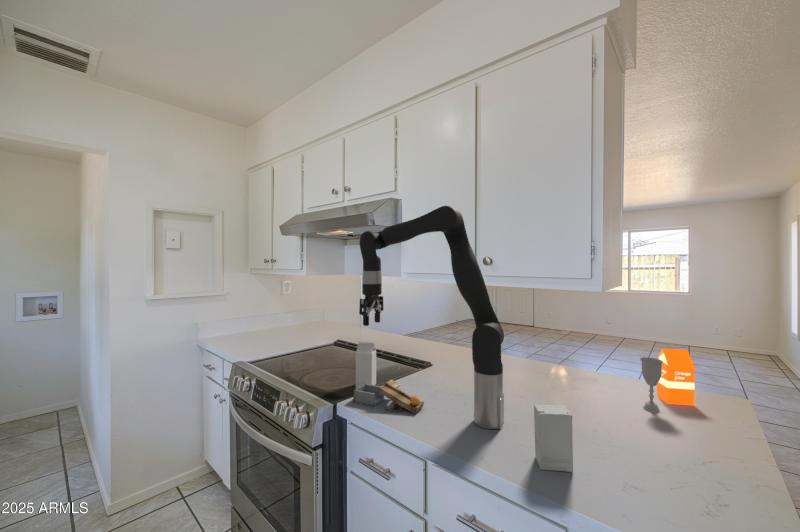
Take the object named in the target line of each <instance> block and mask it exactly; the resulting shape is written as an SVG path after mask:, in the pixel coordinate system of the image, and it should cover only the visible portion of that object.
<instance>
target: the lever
mask: <svg viewBox="0 0 800 532" xmlns="http://www.w3.org/2000/svg"><path fill="white" fill-rule="evenodd" d="M400 386H401V383H399V382H397V381H396V380H394V379H390V380H388V381H387V382H386V381H385V383H384V384H383V385H381V387H378V390H377V392H379V393H380V394H382V395H384V398H387V399H389V400H390V401H391V402H393V401H394V402H395V403H397V404H399V405H400V406H402V407H403V409H405V410H407V411H409V412H410V413H413V414H417V413H418V412H419V411H420V410H421V409H422V408H423V407H424V404H425V401H423V400H421V401H420V403H419V405H418V406H413V405H412V404H411V402H410V400H411V398H412V397H413V396H411V395H409V394H408V393H406V392H404V391H402V390H401V389H399V388H400Z"/></svg>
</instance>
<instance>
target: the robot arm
mask: <svg viewBox="0 0 800 532" xmlns="http://www.w3.org/2000/svg"><path fill="white" fill-rule="evenodd" d="M436 232H441V233H443V235H444V237H445V239H446V242H447V245H448V246H449V247H448V248H449V251H450V260H451V263H450V264H451V270H452V274H453V278H454V280H455V283H456V286H457V288H458V291H459V293H460V295H461V296H462V298H463V300H464V301H465V302H466V304H467V306H468V307H469V309H470V311H471V313H472V316H473V319H474V323H475V324H474V325H475V328H474V330H473V332H472V336H471V348H472V349H471V350H472V351H471V353H472V359H471V360H472V363H473V422H474V424H475V425H476V426H478V427H480V428H482V429H486V430H496V429H497V430H502V427H503V425H504V423H505V394H504V389H503V387H504V385H503V381H504V380H503V378H504V377H503V375H504V374H503V372H504V371H503V369H504V365H503V363H502V343H503V342H504V340H505V333H504V329H503V327H502V325H501V323H500V321H499V319H498V317H497V315H496V312H495V311H494V307H493V306H492V302H491V300H490V299H491V298H490V296H489V295H490V294H489V293H488V292H489V291H488V289H487V285H486V283H485V279H484V276H483V274H482V271H481V268H480V266H479V263H478V259H477V257H476V256H475V253H474V250H473V248H472V246H471V244H470V241H469V238H468V233H467V230H466V225H465V221H464V218H463V214H462V213H461V212H460V210H458V209H457V208H455V207H453V206H450V205H442V206H440V207H437V208H436V209H433V210H431V211H430V212H427V213H425V214H423V215H420V216H418V217H416V218H412V219H409V220H406V221H403V222H399V223H395V224H393V225H390V226H386V227H384V229H382V230H381V231H380V230H379V231H371V230H367V231H364V232H362V233H361V235H360V237H359V248H360V253H361V257H362V277H361V279H362V280H361V281H362V287H361V288H362V291H361V293H362V295H363V296H364V298H359V309H358V311H359V312H358V313H359V315H360V316H362V324H363V325H362V326H364V327H365V326H366V327H368V326H370V313H371V312H372V311H374V322H375V323H378V324H379V323H380V322H381V313H382V311H383V312H384V296H383V295H382V289H383V288H382V281H383V280H382V260H381V257H380V256H378V255H377V254H378V253H377V250H381V249H385V248H387V247H389V246H392V245H396V244H399V243H403V242H406V241H410V240H412V239H414V238H415V237H418V236H421V235H423V234H428V233H429V234H430V233H436Z"/></svg>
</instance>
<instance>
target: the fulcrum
mask: <svg viewBox="0 0 800 532" xmlns="http://www.w3.org/2000/svg"><path fill="white" fill-rule="evenodd" d="M385 409H387V410H386V411H389V410H391V411H390V412H394V411H395V413H398V412H400V411H401V410H402V409H404V407H402V406H400V405H399V404H397V403H395V402H394V401H391V402H390V403H389V404H388V405H387V406H386V407H385V408H384V410H385Z"/></svg>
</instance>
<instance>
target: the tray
mask: <svg viewBox="0 0 800 532" xmlns="http://www.w3.org/2000/svg"><path fill="white" fill-rule="evenodd" d="M378 387H382V385H381V386H379V385H370V384H363V385H361V386H360V387H358V388H356V387H355V389H353V392H352V393H353V396H352V397H353V403H356V402H358V403H357V404H361V403H362V404H361V405H365V404H368V405H367V406H370V405H372V406H371V407H375V406H376V405H378V404H379V403H380V402H382V401H383V400H385V396H384V395H382V394H380V393H379V392H377V390H378ZM382 399H383V400H382ZM381 400H382V401H381ZM379 401H380V402H379ZM378 402H379V403H378ZM377 403H378V404H377ZM375 404H376V405H375ZM374 405H375V406H374Z"/></svg>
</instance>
